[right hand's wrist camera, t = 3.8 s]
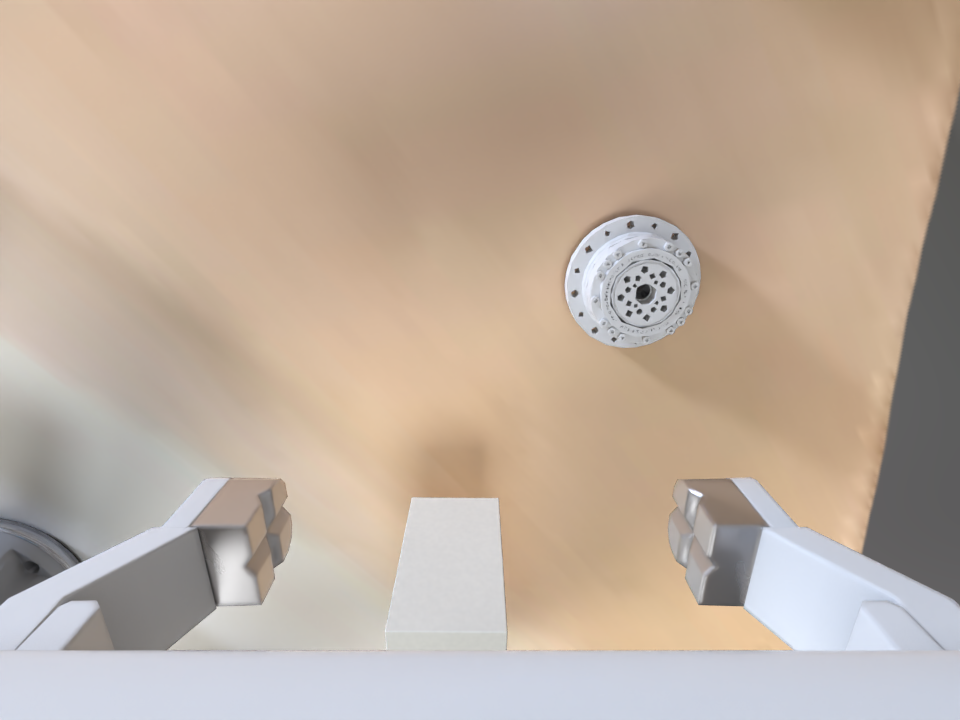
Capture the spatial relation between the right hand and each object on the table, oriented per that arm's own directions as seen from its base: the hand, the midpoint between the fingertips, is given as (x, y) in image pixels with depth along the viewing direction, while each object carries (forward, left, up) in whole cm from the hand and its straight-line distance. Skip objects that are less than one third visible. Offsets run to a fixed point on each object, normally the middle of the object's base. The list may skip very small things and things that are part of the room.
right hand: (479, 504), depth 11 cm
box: (+16, +24, -23) cm, 36 cm away
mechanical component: (-9, +7, -30) cm, 32 cm away
